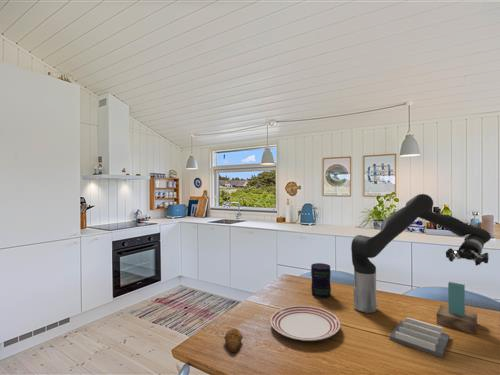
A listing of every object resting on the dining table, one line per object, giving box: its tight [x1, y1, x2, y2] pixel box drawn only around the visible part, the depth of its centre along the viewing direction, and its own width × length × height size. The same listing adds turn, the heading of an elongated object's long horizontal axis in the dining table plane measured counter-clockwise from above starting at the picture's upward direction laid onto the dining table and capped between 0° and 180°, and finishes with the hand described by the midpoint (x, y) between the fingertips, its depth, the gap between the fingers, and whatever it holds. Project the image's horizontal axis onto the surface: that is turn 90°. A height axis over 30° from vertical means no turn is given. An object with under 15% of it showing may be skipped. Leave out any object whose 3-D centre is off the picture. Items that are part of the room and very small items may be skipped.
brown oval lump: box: [224, 328, 243, 354], centre depth 99 cm, size 14×7×5 cm, turn 2°
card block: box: [447, 281, 466, 317], centre depth 109 cm, size 5×2×12 cm, turn 46°
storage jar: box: [310, 262, 332, 299], centre depth 140 cm, size 10×10×15 cm
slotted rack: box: [389, 316, 451, 358], centre depth 99 cm, size 16×15×3 cm
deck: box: [436, 304, 478, 335], centre depth 109 cm, size 12×10×4 cm
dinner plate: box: [270, 305, 341, 342], centre depth 109 cm, size 28×27×3 cm
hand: (463, 261), depth 114 cm, fingers open, 8 cm apart
